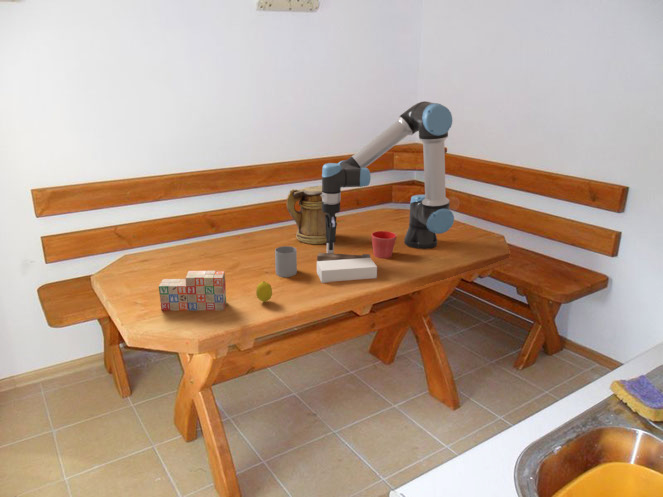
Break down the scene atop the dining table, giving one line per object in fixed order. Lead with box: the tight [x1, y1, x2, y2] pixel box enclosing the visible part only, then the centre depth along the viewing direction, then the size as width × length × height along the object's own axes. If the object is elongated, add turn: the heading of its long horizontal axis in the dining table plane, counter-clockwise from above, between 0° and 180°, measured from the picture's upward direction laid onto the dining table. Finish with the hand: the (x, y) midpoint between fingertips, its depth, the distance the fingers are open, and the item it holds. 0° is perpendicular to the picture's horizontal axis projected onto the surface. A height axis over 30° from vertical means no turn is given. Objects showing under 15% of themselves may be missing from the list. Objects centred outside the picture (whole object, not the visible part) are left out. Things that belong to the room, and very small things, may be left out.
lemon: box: [255, 281, 273, 303], centre depth 187 cm, size 6×6×8 cm
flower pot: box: [371, 230, 397, 259], centre depth 232 cm, size 11×11×10 cm
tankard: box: [286, 185, 327, 245], centre depth 248 cm, size 18×24×25 cm
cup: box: [274, 245, 298, 278], centre depth 212 cm, size 8×8×10 cm
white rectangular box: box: [316, 257, 378, 284], centre depth 211 cm, size 22×10×5 cm, turn 102°
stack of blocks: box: [158, 270, 227, 312], centre depth 183 cm, size 21×6×12 cm, turn 93°
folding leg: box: [316, 252, 371, 262], centre depth 221 cm, size 22×4×5 cm, turn 81°
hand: (330, 256), depth 225 cm, fingers closed
